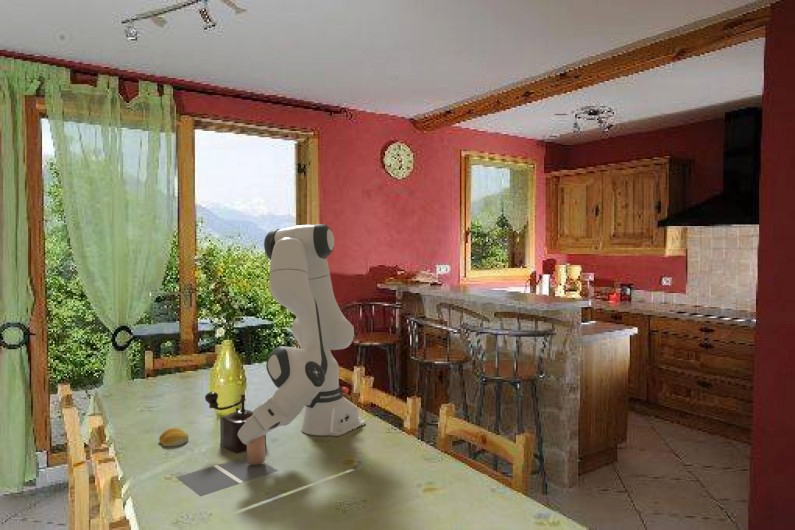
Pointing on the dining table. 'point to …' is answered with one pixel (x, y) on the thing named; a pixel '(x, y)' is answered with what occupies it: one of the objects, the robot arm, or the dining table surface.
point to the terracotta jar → (256, 450)
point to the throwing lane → (224, 475)
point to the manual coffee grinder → (231, 423)
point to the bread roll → (173, 437)
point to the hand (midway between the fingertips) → (253, 438)
